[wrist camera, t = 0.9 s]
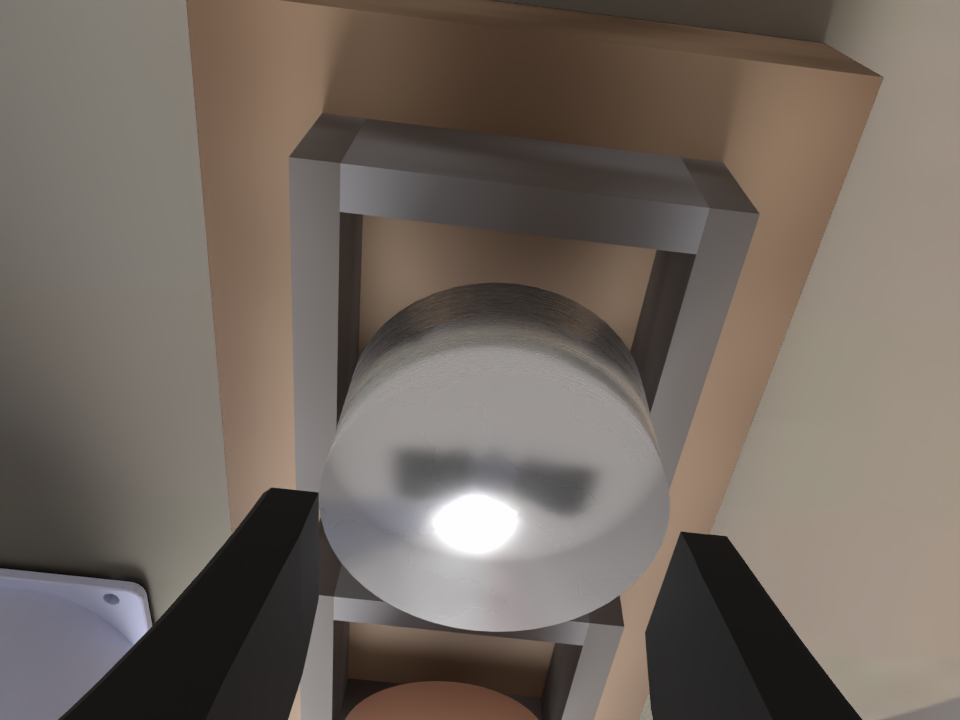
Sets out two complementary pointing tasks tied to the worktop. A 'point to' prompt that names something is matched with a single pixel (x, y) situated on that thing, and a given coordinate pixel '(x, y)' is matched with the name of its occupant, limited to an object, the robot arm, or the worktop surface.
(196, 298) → the worktop surface
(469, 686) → the terracotta plunger
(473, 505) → the steel plunger
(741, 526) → the worktop surface
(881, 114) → the worktop surface
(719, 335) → the press panel
